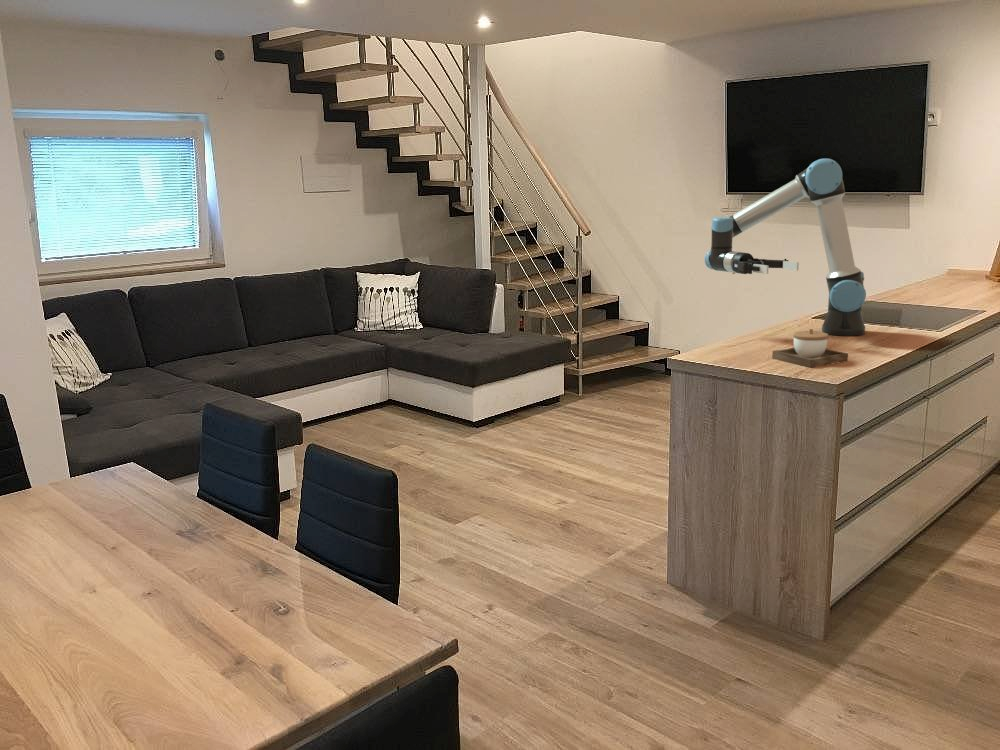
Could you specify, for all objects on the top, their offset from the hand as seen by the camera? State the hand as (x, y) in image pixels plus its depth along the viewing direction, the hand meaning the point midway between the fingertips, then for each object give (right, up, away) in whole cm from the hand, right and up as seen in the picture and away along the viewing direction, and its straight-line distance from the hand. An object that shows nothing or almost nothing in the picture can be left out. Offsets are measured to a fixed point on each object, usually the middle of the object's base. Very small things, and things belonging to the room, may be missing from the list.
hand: (782, 268), depth 296 cm
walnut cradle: (+5, -31, -11) cm, 33 cm away
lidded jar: (+5, -31, -11) cm, 33 cm away
